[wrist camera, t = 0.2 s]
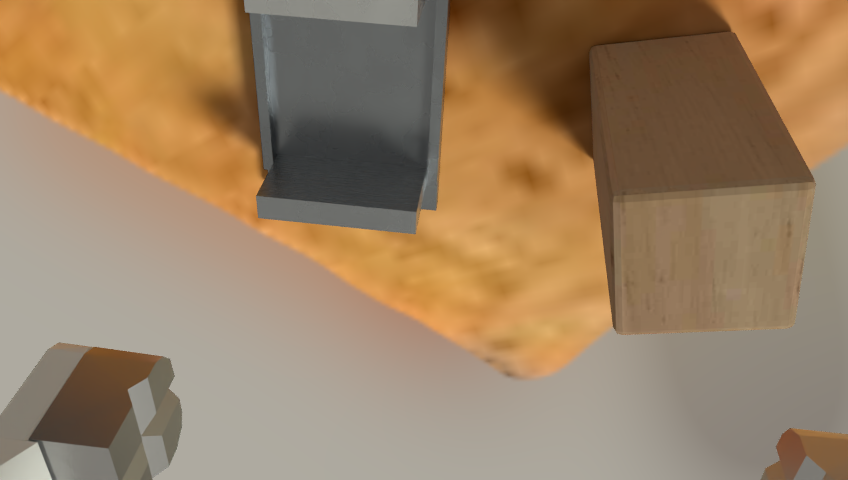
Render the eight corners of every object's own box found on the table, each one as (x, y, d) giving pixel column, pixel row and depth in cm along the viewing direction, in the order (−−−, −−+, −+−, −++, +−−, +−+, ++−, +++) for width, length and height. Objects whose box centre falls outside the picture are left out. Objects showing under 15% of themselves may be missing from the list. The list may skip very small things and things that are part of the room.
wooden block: (593, 163, 62) (614, 338, 46) (588, 43, 56) (610, 195, 40) (726, 153, 60) (796, 331, 44) (735, 27, 54) (820, 180, 38)
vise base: (250, -86, 53) (214, -55, 47) (455, -70, 52) (444, -36, 46) (273, 186, 66) (247, 237, 60) (437, 202, 65) (427, 256, 59)
